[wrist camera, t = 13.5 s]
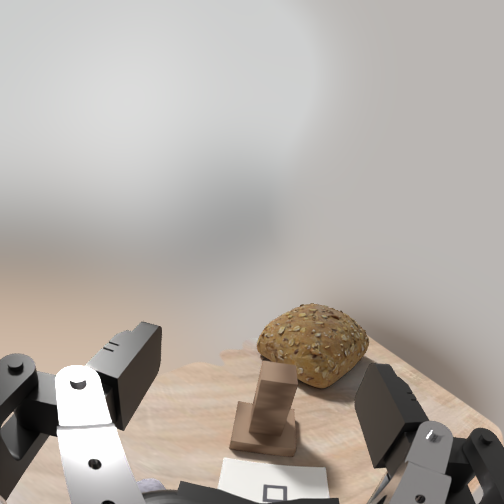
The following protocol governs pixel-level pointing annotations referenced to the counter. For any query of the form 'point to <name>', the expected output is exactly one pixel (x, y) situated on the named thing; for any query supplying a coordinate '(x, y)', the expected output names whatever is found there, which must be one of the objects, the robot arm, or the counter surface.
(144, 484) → the stone block
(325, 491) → the tile
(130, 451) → the counter surface
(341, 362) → the bread
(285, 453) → the walnut stamp
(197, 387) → the counter surface
